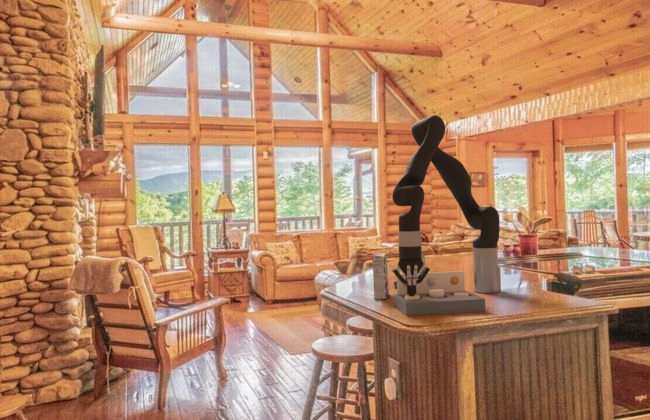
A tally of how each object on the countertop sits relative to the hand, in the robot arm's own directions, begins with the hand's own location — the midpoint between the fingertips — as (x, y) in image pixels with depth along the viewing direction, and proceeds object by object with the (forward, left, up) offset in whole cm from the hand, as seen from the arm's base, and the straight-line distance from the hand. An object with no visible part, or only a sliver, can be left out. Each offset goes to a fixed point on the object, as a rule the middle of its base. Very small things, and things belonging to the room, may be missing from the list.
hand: (411, 295), depth 161 cm
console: (-9, +1, -5) cm, 10 cm away
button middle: (-9, 0, -1) cm, 9 cm away
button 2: (-17, 0, -3) cm, 17 cm away
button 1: (0, 0, -3) cm, 3 cm away
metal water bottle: (-8, -19, -5) cm, 21 cm away
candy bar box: (+5, -24, -5) cm, 25 cm away
